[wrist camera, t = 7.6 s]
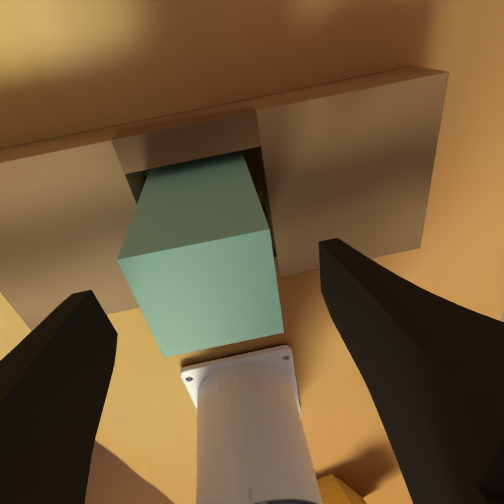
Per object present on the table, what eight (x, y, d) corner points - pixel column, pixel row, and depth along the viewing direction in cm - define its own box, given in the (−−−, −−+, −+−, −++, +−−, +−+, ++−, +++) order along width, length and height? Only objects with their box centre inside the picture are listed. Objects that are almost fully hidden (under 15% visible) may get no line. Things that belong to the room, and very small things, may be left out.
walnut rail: (395, 224, 19) (419, 247, 17) (50, 297, 18) (31, 330, 16) (412, 66, 14) (448, 72, 12) (-47, 158, 14) (-90, 181, 12)
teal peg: (252, 218, 17) (283, 332, 11) (177, 233, 17) (164, 357, 11) (239, 143, 15) (269, 229, 8) (153, 159, 15) (116, 259, 8)
